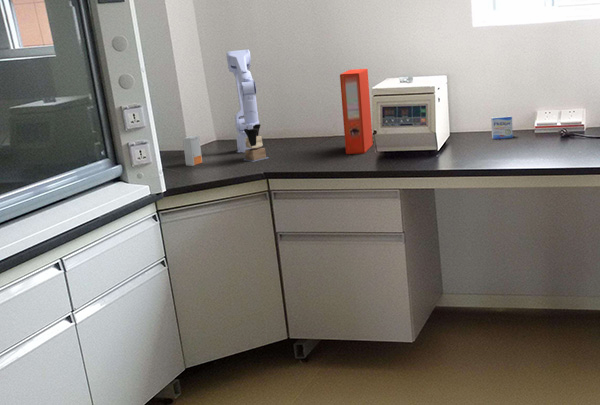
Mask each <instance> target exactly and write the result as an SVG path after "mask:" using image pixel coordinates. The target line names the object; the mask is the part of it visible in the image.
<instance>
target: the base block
mask: <svg viewBox="0 0 600 405" xmlns="http://www.w3.org/2000/svg"><path fill="white" fill-rule="evenodd" d="M266 157H267V154H266V147H256V148H251V149H247V150H245V159H246V160H245V161H247V160H252V161H251V162H253V161H254V162H256V161H255V160H258V161H261V160H260V159H262V160H265V159H264V158H266Z"/></svg>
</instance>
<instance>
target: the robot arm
mask: <svg viewBox="0 0 600 405" xmlns="http://www.w3.org/2000/svg"><path fill="white" fill-rule="evenodd" d="M251 57H252V56H251V52H250V50H249V49H248V48H246V49H242V50H241V49H240V50H238V49H237V50H232V51H231V50H230V51H229V50H227V51H226V62H227V68H228V69H227V70H228V71H229V72H231V73H233V76H234V77H235V78H234V79H235V84H236V92H237V98H238V105H239V110H238V111H237V113H236V114H235V115H234V123H235V131H236V132H237V133H238V134H237V135H236V145H237V151H236V153H245V150H247V149H251V148H247V147H246V143H245V138H246V137H248V139H249V143H250V145H251V146H256V136H260V135H259V133H260V132H259V131H260V128H261V124H260V120H259V113H258V111H259V110H258V103H257V96H256V95H257V84H256V81H255V80H254V79H253V76H252V73H251V71H249V70H250V68H251V63H252V58H251Z"/></svg>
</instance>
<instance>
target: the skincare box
mask: <svg viewBox="0 0 600 405" xmlns="http://www.w3.org/2000/svg"><path fill="white" fill-rule="evenodd" d="M200 141H201V140H200V136H199V135H190V136H186V137H183V138H182V144H183V152H184V159H185V160H184V161H185V165H186V166H189V167H190V166H192V167H194V166H196V165H198V164H201V163H203V158H202V148H201V142H200Z"/></svg>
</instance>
